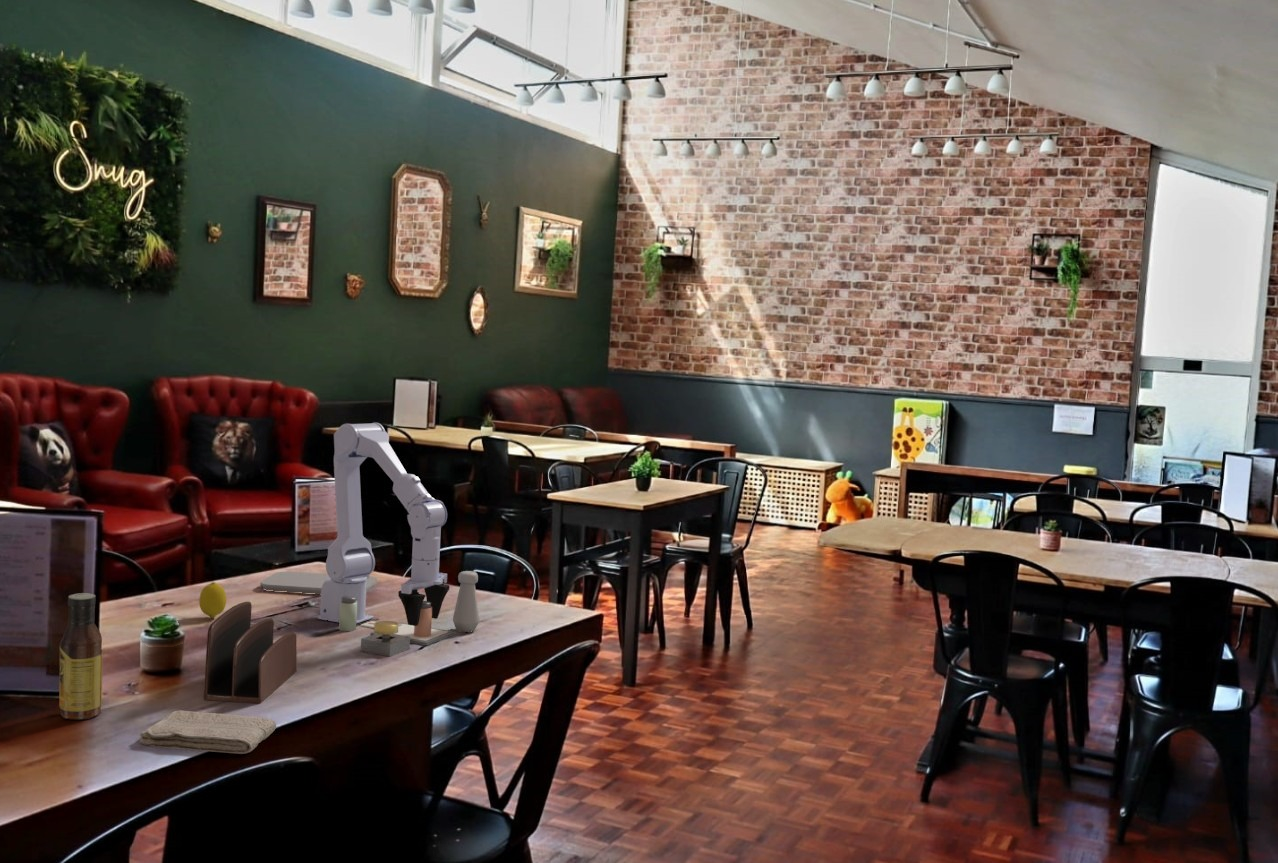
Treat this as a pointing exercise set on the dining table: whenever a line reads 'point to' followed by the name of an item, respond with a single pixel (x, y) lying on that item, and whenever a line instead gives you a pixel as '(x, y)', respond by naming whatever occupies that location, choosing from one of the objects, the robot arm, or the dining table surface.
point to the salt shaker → (466, 603)
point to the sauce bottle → (80, 661)
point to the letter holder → (246, 658)
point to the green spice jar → (348, 613)
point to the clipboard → (435, 636)
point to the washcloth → (208, 732)
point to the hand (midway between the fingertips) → (423, 621)
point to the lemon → (212, 599)
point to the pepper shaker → (424, 621)
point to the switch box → (385, 644)
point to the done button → (386, 628)
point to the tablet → (302, 582)
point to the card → (369, 624)
